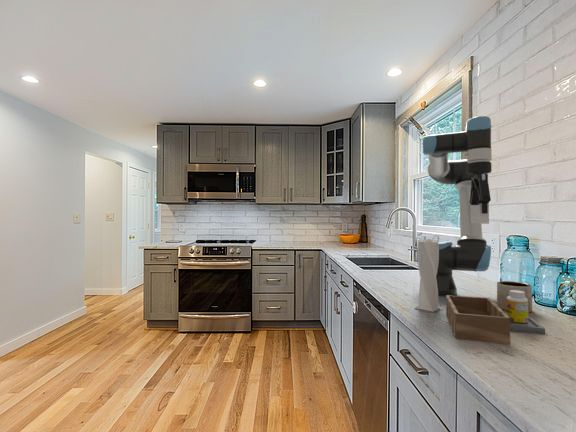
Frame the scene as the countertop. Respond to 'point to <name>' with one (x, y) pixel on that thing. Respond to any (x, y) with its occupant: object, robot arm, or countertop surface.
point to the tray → (529, 327)
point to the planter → (506, 286)
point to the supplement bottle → (517, 308)
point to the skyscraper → (428, 275)
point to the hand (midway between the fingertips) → (479, 223)
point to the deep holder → (477, 319)
